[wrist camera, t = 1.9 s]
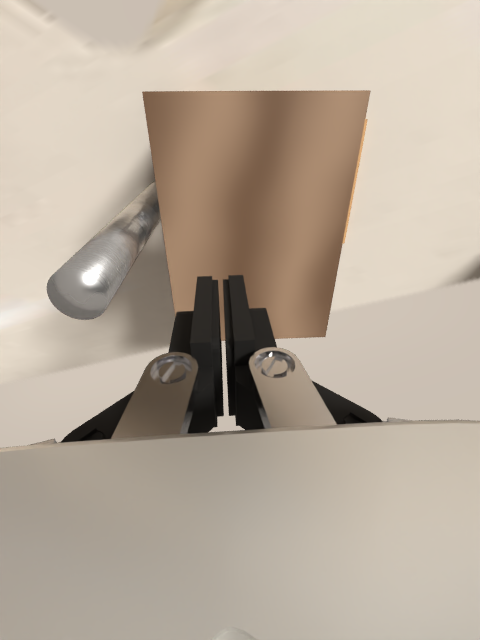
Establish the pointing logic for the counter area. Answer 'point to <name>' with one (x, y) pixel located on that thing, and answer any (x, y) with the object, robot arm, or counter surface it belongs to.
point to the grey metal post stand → (104, 260)
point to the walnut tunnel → (257, 195)
